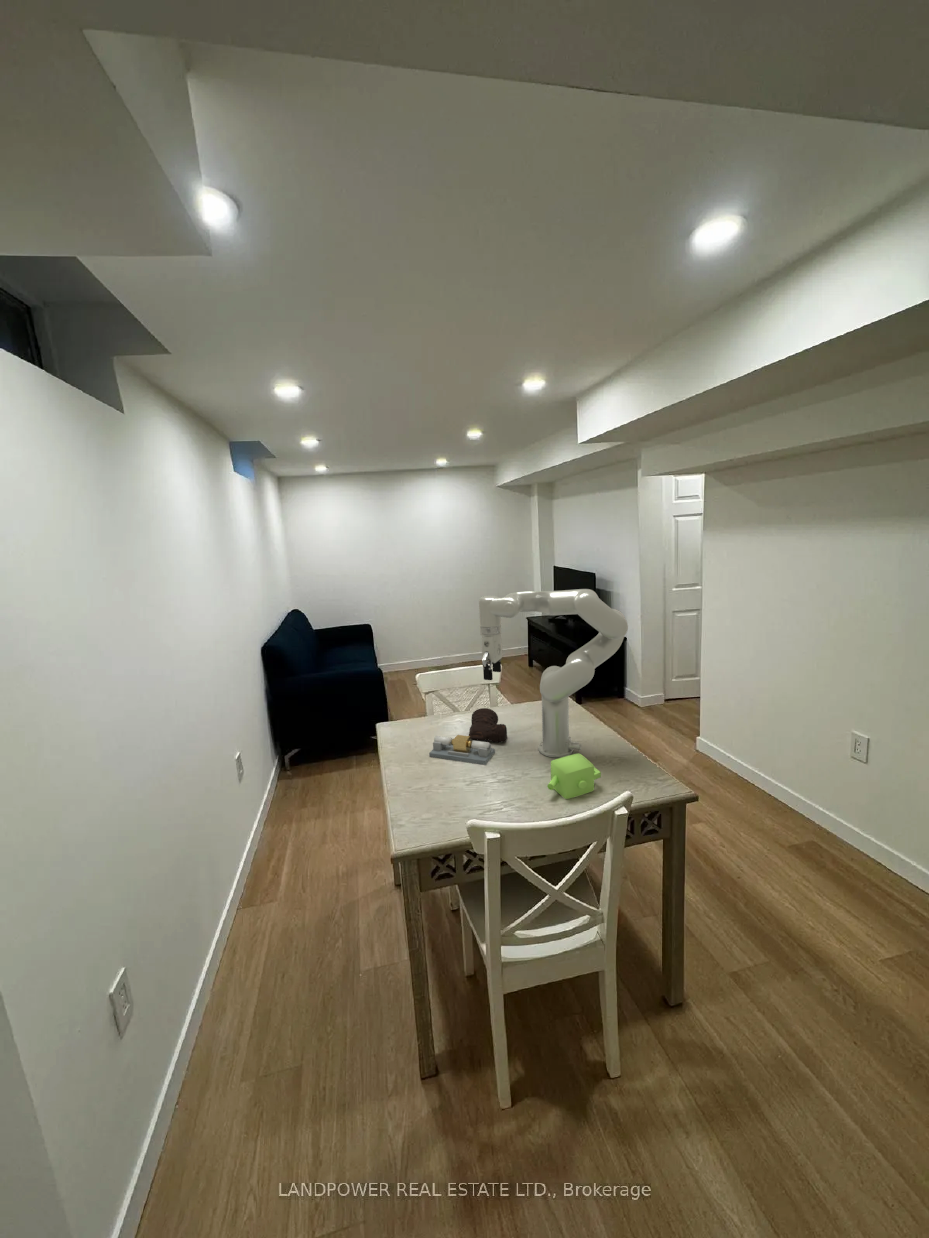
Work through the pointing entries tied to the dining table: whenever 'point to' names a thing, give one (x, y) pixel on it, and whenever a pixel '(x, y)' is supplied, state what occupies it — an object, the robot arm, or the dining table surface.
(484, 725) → the dark brown l-shaped piece
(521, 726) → the dining table surface
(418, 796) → the dining table surface
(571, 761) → the gearbox
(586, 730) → the dining table surface
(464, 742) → the coupler
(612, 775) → the dining table surface
